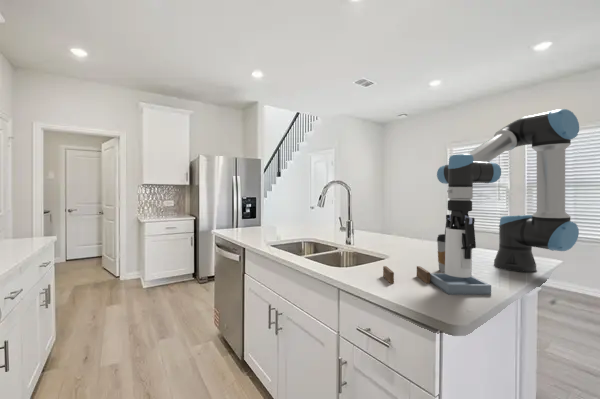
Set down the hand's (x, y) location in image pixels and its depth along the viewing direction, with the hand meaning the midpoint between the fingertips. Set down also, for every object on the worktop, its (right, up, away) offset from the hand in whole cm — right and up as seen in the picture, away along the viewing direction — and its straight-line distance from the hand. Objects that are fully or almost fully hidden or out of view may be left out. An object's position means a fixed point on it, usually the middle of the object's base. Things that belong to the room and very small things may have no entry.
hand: (458, 264), depth 103 cm
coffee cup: (+7, -8, +21) cm, 24 cm away
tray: (0, -8, 0) cm, 8 cm away
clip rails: (-15, -8, +9) cm, 19 cm away
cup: (0, -3, 0) cm, 3 cm away
